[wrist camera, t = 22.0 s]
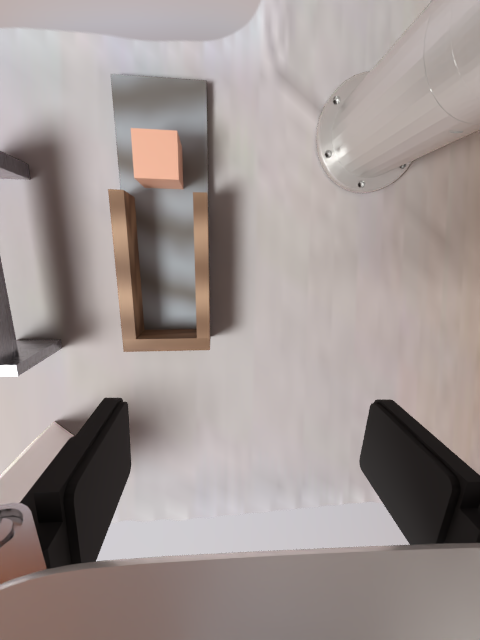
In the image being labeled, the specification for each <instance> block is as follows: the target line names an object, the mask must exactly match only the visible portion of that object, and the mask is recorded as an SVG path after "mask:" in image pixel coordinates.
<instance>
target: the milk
mask: <svg viewBox="0 0 480 640" xmlns="http://www.w3.org/2000/svg"><path fill="white" fill-rule="evenodd" d="M73 436H74V435H72V434H71V433H70V432H68V431H67V430H65V429H64V428H63V427H61V426H60V425H59V424H57V423H56V422H53V423H52V424H51V425H50V426H49V427H48V428H47V429H46V430H45V431H43V432H42V433H41V434H40V435H39V436H38V437H37V438H36V439H35V440H34V441H33V442H32V443H31V444H30V445H29V446H28V447H27V448H26V449H25V450H24V451H23V452H22V453H21V454H20V455H19V456H18V457H17V458H16V459H15V460H14V461H13V462H12V463H11V464H10V465H9V466H8V468H7V469H6V470H5V471H4V472H3V473H2V474H1V475H0V505H3V504H9V503H20V502H21V500H22V499H23V498H24V496H25V495H26V494H27V493H28V491H29V490H30V489H31V487H32V486H33V485H34V483H35V482H36V481H37V480H38V478H39V477H40V476H41V474H42V473H43V472H44V471H45V469H46V468H47V467H48V465H49V464H50V463H51V462H52V460H53V459H54V458H55V456H56V455H57V454H58V453H59V451H60V450H61V449H62V447H63V446H64V445H65V443H66V442H67V441H68V440H69V439H70V438H71V437H73Z"/></svg>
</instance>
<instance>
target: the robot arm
mask: <svg viewBox="0 0 480 640" xmlns="http://www.w3.org/2000/svg"><path fill="white" fill-rule="evenodd" d="M333 102H334V103H335V104H334V103H333ZM478 130H480V0H432V1H431V2H430V3H429V4H428V6H427V7H426V8H425V9H424V10H423V11H422V12H421V14H420V15H419V16H418V17H417V18H416V19H415V21H414V22H413V23H412V24H411V25H410V26H409V27H408V29H407V30H406V31H405V32H404V33H403V34H402V36H401V37H400V38H399V39H398V40H397V41H396V42H395V44H394V45H393V46H392V47H391V48H390V49H389V51H388V52H387V53H386V54H385V55H384V56H383V57H382V59H381V60H380V61H379V62H378V63H377V64H376V66H375V67H374V68H373V69H372V70H371V71H369V72H363V73H360V74H357V75H354V76H353V77H351V78H349V79H348V80H346V81H345V82H344V83H342V84H341V85H340V86H339V87H338V88H337V89H336V90H335V92H334V93H333V94H332V95H331V97H330V98H329V100H328V101H327V103H326V104H325V106H324V108H323V110H322V113H321V115H320V118H319V122H318V126H317V136H316V143H317V152H318V156H319V159H320V162H321V164H322V167H323V169H324V171H325V172H326V174H327V175H328V176H329V178H330V179H331V180H332V181H333V182H335V183H336V184H337V185H338V186H340V187H342V188H343V189H345V190H348V191H351V192H355V193H368V192H374V191H377V190H380V189H382V188H384V187H386V186H388V185H390V184H392V183H393V182H394V181H396V180H397V179H398V178H399V177H400V176H401V175H402V174H403V173H404V172H405V171H406V169H407V168H408V166H409V165H410V164H411V162H412V161H413V160H415V159H417V158H419V157H421V156H423V155H426V154H428V153H430V152H432V151H434V150H436V149H439V148H441V147H443V146H445V145H447V144H450V143H452V142H454V141H456V140H458V139H460V138H463V137H465V136H467V135H469V134H471V133H473V132H476V131H478ZM325 154H326V155H327V158H326V157H325ZM358 184H359V187H358ZM360 467H361V470H362V472H363V473H364V475H365V476H366V478H367V479H368V481H369V482H370V484H371V485H372V487H373V488H374V490H375V492H376V493H377V495H378V496H379V498H380V499H381V501H382V502H383V504H384V505H385V507H386V508H387V510H388V512H389V513H390V514H391V516H392V518H393V519H394V521H395V522H396V524H397V525H398V527H399V528H400V530H401V532H402V533H403V535H404V536H405V538H406V539H407V541H408V542H409V544H410V545H393V546H369V547H345V548H322V549H301V550H279V551H278V550H277V551H256V552H238V553H218V554H199V555H182V556H181V555H180V556H162V557H148V558H134V559H120V560H106V561H97V562H96V559H97V557H98V554H99V551H100V549H101V546H102V544H103V541H104V539H105V536H106V533H107V531H108V528H109V526H110V523H111V521H112V518H113V515H114V513H115V510H116V508H117V505H118V502H119V500H120V497H121V495H122V492H123V490H124V487H125V484H126V482H127V479H128V477H129V474H130V469H131V453H130V434H129V415H128V403H127V402H123V400H122V398H104V399H103V400H102V402H101V403H100V404H99V406H98V407H97V408H96V410H95V411H94V412H93V414H92V415H91V416H90V418H89V419H88V420H87V422H86V423H85V424H84V426H83V427H82V428H81V430H80V431H79V432H78V434H77V435H76V436H73V437H71V438H70V439H69V440H68V441H67V442H66V443H65V445H64V446H63V447H62V449H61V450H60V451H59V453H58V454H57V455H56V456H55V458H54V459H53V460H52V462H51V463H50V464H49V465H48V467H47V468H46V469H45V471H44V472H43V473H42V474H41V476H40V477H39V478H38V480H37V481H36V482H35V483H34V485H33V486H32V487H31V489H30V490H29V491H28V493H27V494H26V495H25V496H24V498H23V499H22V500H21V502H20V503H9V504H3V505H0V640H480V475H479V474H477V473H476V472H475V471H474V470H473V469H472V468H470V467H469V466H468V465H467V464H466V463H465V462H464V461H462V460H461V459H460V458H459V457H458V456H457V455H455V454H454V453H453V452H452V451H451V450H450V449H449V448H447V447H446V446H445V445H444V444H443V443H442V442H440V441H439V440H438V439H437V438H436V437H435V436H434V435H432V434H431V433H430V432H429V431H428V430H427V429H425V428H424V427H423V426H422V425H421V424H420V423H419V422H417V421H416V420H415V419H414V418H413V417H412V416H410V415H409V414H408V413H407V412H406V411H405V410H404V409H402V408H401V407H400V406H399V405H398V404H397V403H395V402H394V401H393V400H375V402H374V403H373V404H371V406H370V409H369V415H368V420H367V425H366V430H365V435H364V440H363V445H362V450H361V455H360Z"/></svg>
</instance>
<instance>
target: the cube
mask: <svg viewBox="0 0 480 640" xmlns="http://www.w3.org/2000/svg"><path fill="white" fill-rule="evenodd" d="M131 141H132V155H133V169H134V178H135V179H136V180H137V181H138V182H139V183H140V184H141V185H142V186H143V187H144V188H161V189H183V159H182V145H181V142H180V139H179V135H178V132H177V131H175V130H158V129H140V128H131Z"/></svg>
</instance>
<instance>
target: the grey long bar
mask: <svg viewBox="0 0 480 640" xmlns="http://www.w3.org/2000/svg"><path fill="white" fill-rule="evenodd" d="M0 178H2V179H28V180H30V174H29V167H28V164H27V163H25V162H23V161H20V160H18V159H16V158H14V157H12V156H10V155H8V154H6V153H3V152H1V151H0ZM61 348H62V346H61V340H16V337H15V332H14V326H13V321H12V316H11V310H10V305H9V300H8V295H7V289H6V284H5V279H4V273H3V268H2V263H1V258H0V376H19V375H20V374H22V373H24V372H25V371H27V370H28V369H30V368H31V367H33V366H35V365H36V364H38V363H39V362H41V361H42V360H44V359H46V358H47V357H49V356H50V355H52V354H54V353H55V352H57V351H58V350H60V349H61Z"/></svg>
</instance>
